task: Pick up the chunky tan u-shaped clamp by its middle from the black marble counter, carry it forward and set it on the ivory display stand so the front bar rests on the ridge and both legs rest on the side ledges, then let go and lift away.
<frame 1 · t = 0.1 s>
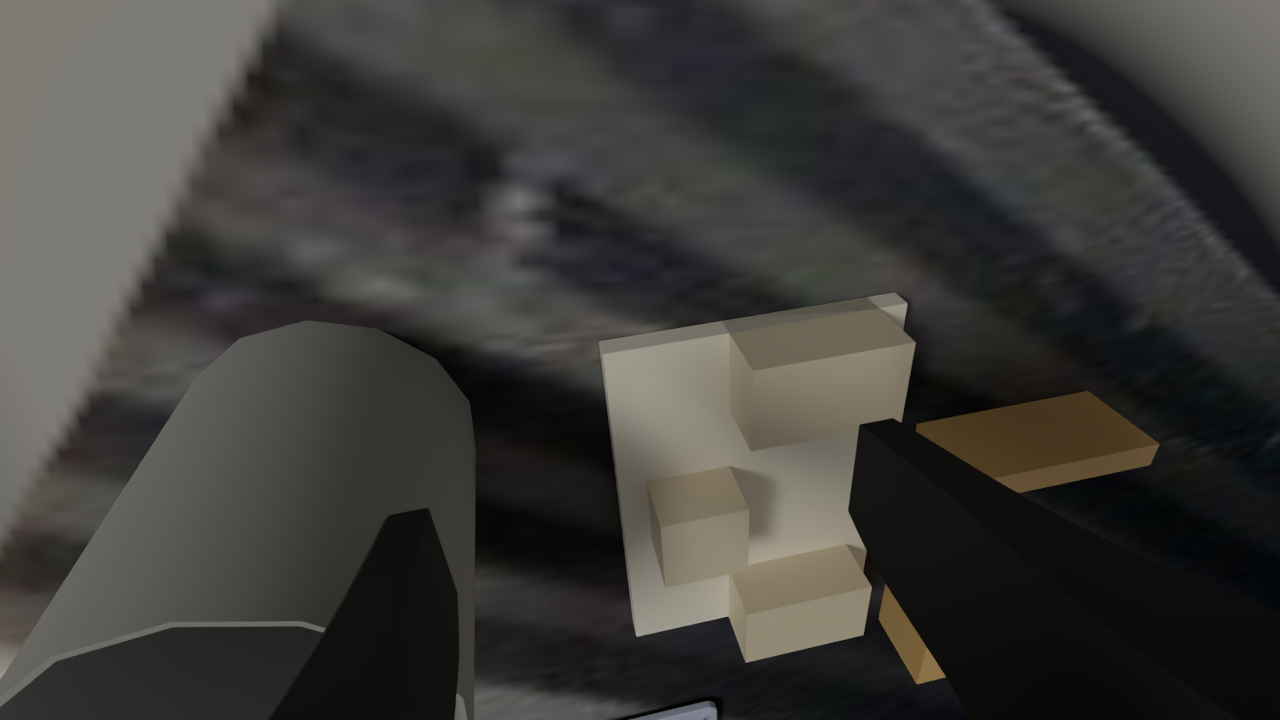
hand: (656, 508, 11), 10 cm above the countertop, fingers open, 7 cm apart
cup: (339, 434, 21), on the countertop
display stand: (683, 489, 25), on the countertop
tan u-shaped clamp: (910, 529, 29), on the countertop
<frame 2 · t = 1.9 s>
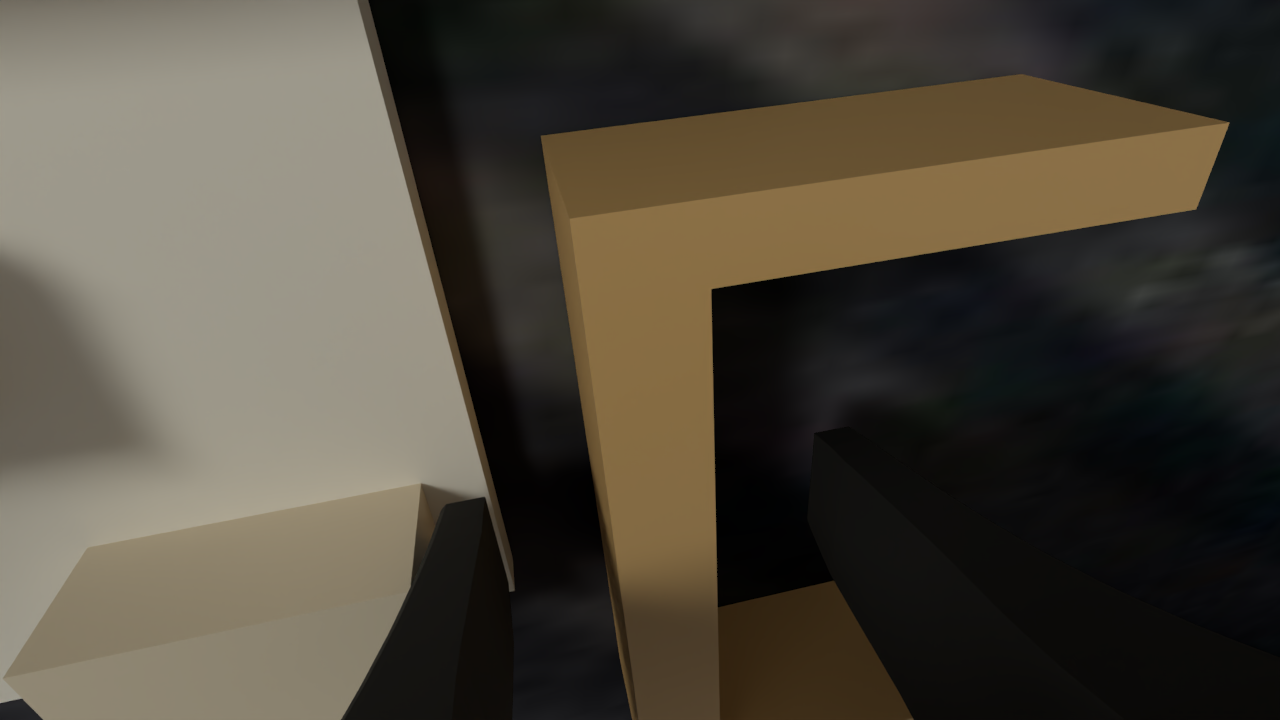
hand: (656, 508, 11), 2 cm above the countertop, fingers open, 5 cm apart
tan u-shaped clamp: (627, 456, 13), on the countertop
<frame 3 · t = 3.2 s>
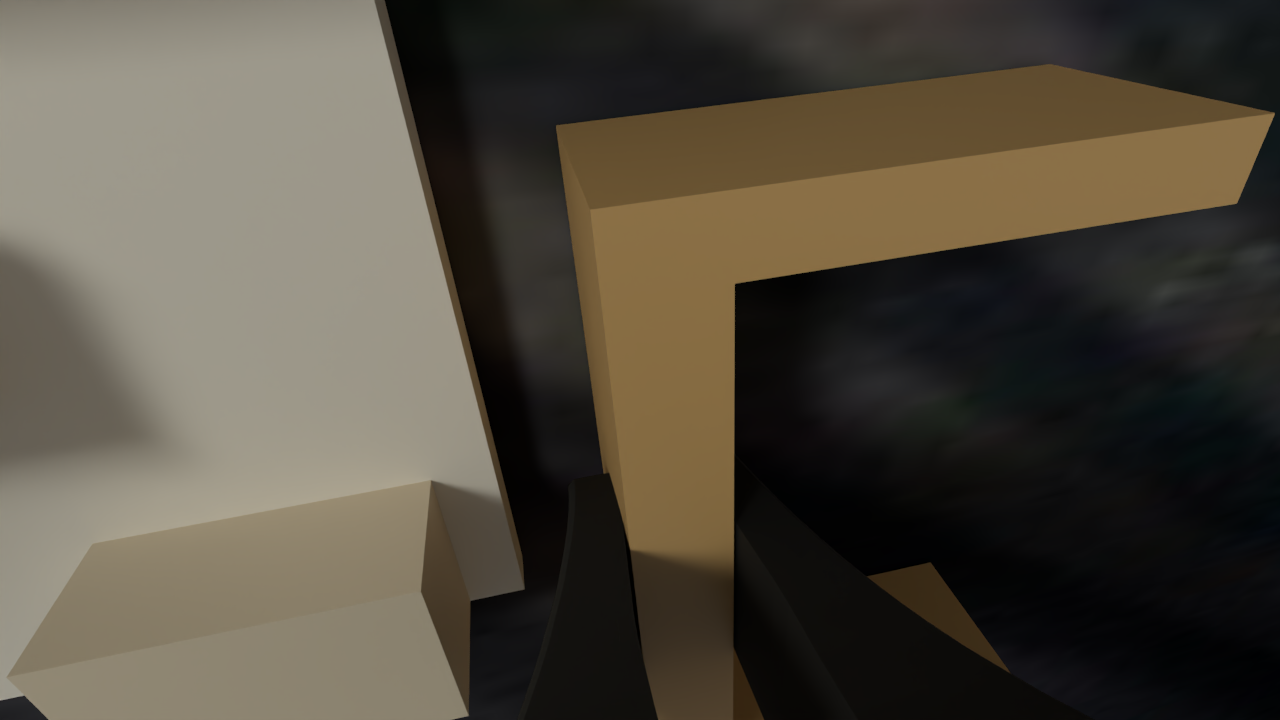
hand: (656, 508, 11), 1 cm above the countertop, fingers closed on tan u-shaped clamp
tan u-shaped clamp: (639, 454, 12), on the countertop, touching gripper
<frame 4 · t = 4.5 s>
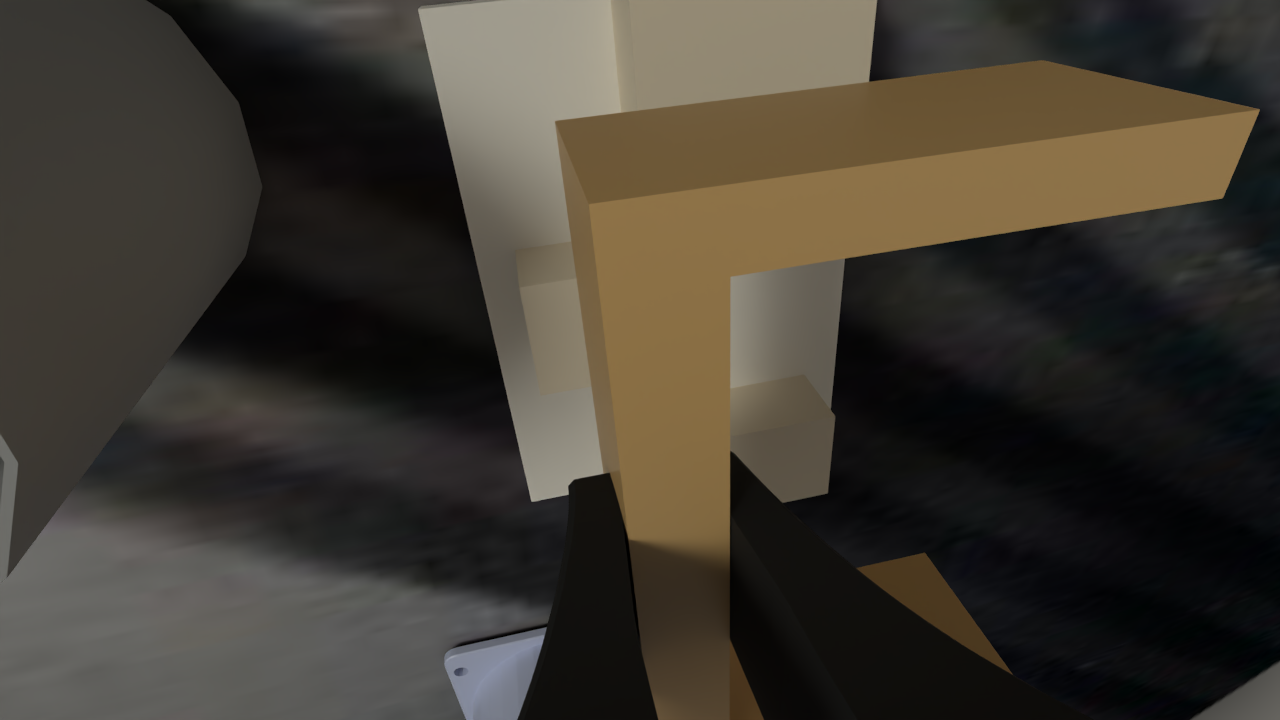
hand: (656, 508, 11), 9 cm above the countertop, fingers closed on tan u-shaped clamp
cup: (49, 149, 15), on the countertop
display stand: (577, 280, 19), on the countertop
tan u-shaped clamp: (637, 446, 13), point 7 cm above the countertop, touching gripper
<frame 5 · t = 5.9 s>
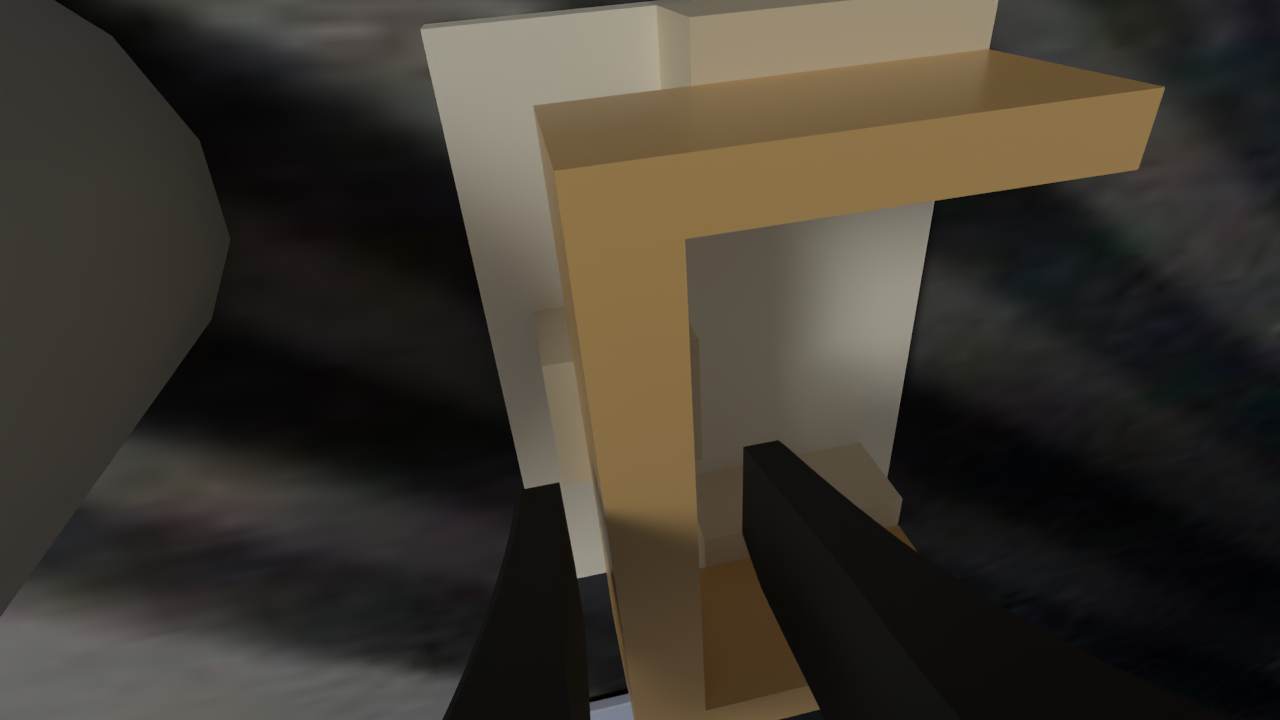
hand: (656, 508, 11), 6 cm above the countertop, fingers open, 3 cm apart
display stand: (604, 341, 16), on the countertop
tan u-shaped clamp: (617, 416, 13), point 3 cm above the countertop, touching display stand
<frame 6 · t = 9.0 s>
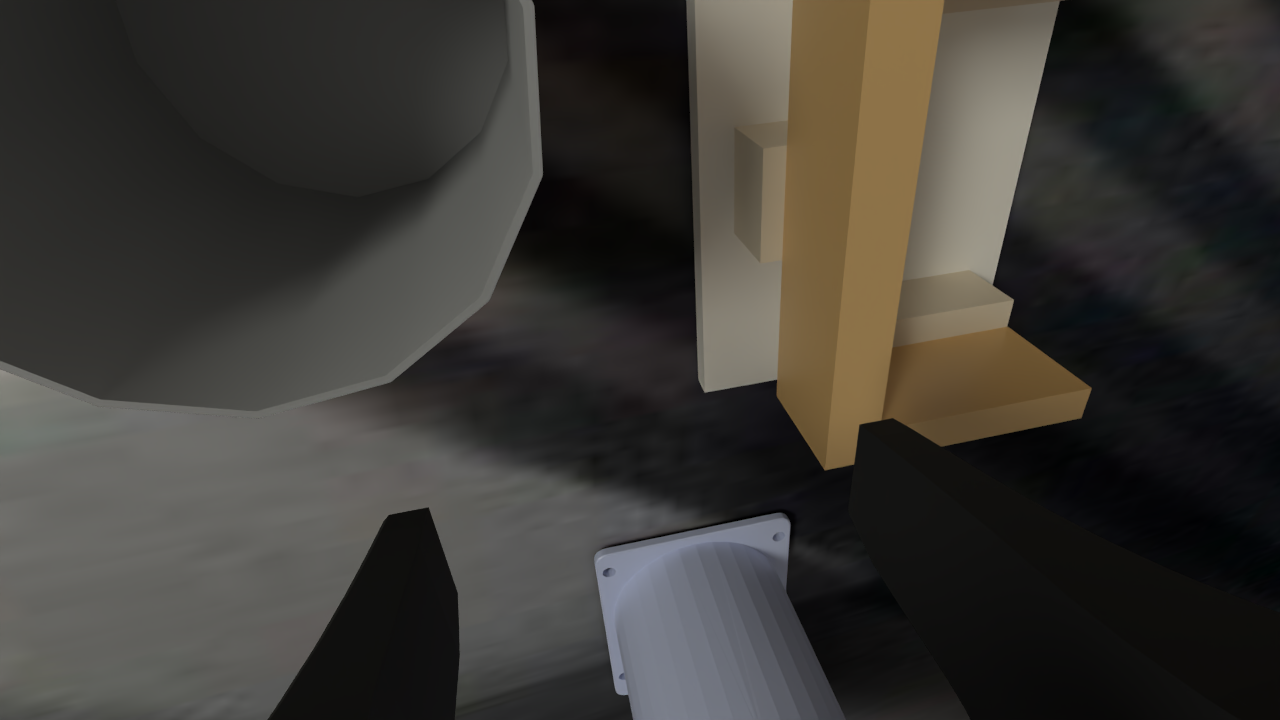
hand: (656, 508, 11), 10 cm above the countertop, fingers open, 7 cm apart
cup: (329, 13, 16), on the countertop
display stand: (775, 167, 20), on the countertop
tan u-shaped clamp: (810, 199, 17), point 3 cm above the countertop, touching display stand
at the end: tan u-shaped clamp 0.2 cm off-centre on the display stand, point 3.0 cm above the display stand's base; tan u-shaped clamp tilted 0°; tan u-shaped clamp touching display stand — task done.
